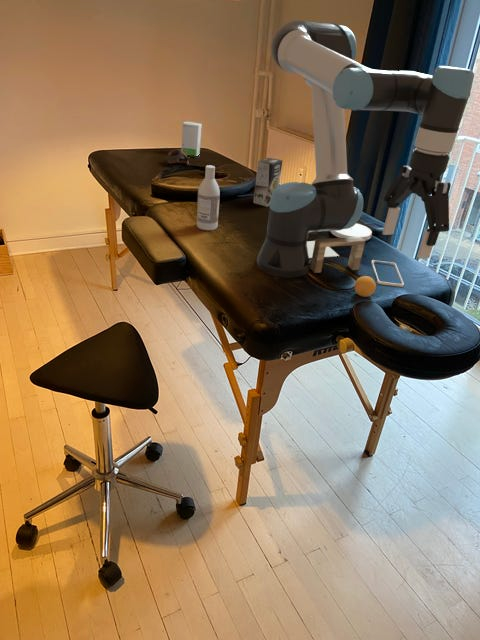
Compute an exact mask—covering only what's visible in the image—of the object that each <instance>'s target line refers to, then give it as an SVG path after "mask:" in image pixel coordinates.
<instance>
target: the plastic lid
mask: <svg viewBox="0 0 480 640" xmlns="http://www.w3.org/2000/svg"><path fill="white" fill-rule="evenodd" d="M329 232H330V234H332V235H333V236H335V238H344V237H361V238H362V239H364V240H365V242H366V241H369V240H370V239H371V238H372V234H373V231H372V230H371V229H370V228H369V227H367V226H365V225H364V224H363V225H362V224H360V223H358V222H357V223H356V224H355V225H354V226H353V227H351V228H348V229H342V230H338V231H336V230H331V231H329Z"/></svg>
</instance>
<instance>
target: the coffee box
mask: <svg viewBox="0 0 480 640" xmlns="http://www.w3.org/2000/svg"><path fill="white" fill-rule="evenodd" d="M282 166H283V160H282V159H278V158H273V157H272V158H271V157H266V158H263V159H261V160H258V161H257V168H256V177H255V185H254V195H253V203H254V204H255V205H259V206H263V207H269V204H270V201H271V196H272V192H273V190H274V189H275V188H276V187H277V186H279V185H280V182H281V176H282V168H283V167H282Z"/></svg>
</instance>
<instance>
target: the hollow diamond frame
mask: <svg viewBox="0 0 480 640" xmlns="http://www.w3.org/2000/svg"><path fill="white" fill-rule="evenodd" d="M376 262H378V263H387V264H390V265H391V266H393V267H394V268H395V271H396V274H397V276H398V280H400V283H394V282H387V281H381V280H380V279H379V276H378V273H377V270H376V267H375V263H376ZM371 267H372V270H373V274H374V275H375V277H376V283H377V284H378V285H384V286H389V287H391V286H392V287H399V288H403V287H404V285H405V283H404V280H403V278H402V275H401V273H400V271H399V267H398V266H397V263H396V262H392V261H384V260H376V259H372V260H371Z"/></svg>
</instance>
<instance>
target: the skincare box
mask: <svg viewBox="0 0 480 640" xmlns="http://www.w3.org/2000/svg"><path fill="white" fill-rule="evenodd" d="M202 126H203V125H202V123H198V122H194V121H184V122H182V128H181V129H182V133H181V149H180V150H181V151H182V152H184V153H185V154H186V155H194V156H198V155H199V154H200V152H201V140H202V138H201V137H202V128H203V127H202ZM199 156H200V155H199Z"/></svg>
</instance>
